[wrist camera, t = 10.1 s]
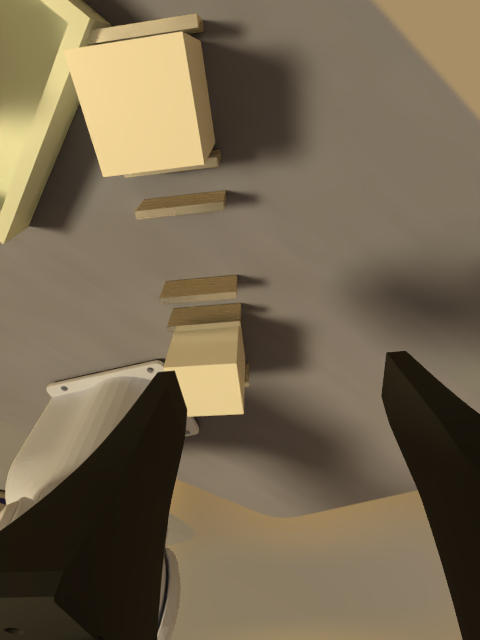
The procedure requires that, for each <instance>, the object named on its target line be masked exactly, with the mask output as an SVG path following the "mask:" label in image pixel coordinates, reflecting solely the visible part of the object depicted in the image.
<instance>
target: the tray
mask: <svg viewBox="0 0 480 640" xmlns="http://www.w3.org/2000/svg"><path fill="white" fill-rule="evenodd" d="M108 27H111V24H110V23H109V22H107V21H106V20H105V19H104V18H103V17H101V16H100V15H99V14H98V13H97V12H95V11H94V10H93V9H92V8H90V7H89V6H88V5H87V4H86V3H84V2H83V1H82V0H0V242H1V243H3V244H4V243H6V242H7V241H9V240H10V239H12V238H13V237H14V236H16V235H17V234H19V233H20V232H22V231H23V230H24V229H26V228H27V227H29V224H30V222H31V220H32V217H33V215H34V212H35V210H36V207H37V205H38V203H39V200H40V198H41V195H42V193H43V190H44V188H45V186H46V183H47V181H48V178H49V176H50V173H51V171H52V169H53V166H54V164H55V161H56V159H57V156H58V154H59V152H60V149H61V147H62V144H63V142H64V139H65V137H66V135H67V132H68V130H69V127H70V125H71V122H72V120H73V118H74V115H75V113H76V110H77V108H78V105H79V103H80V102H79V99H78V95H77V92H76V89H75V86H74V83H73V80H72V76H71V73H70V70H69V67H68V64H67V61H66V58H65V54H64V51H63V50H68V49H74V48H80V47H87V46H93V45H89V44H87V39H88V36H89V33H90V31H91V30H95V29H102V28H108Z"/></svg>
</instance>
